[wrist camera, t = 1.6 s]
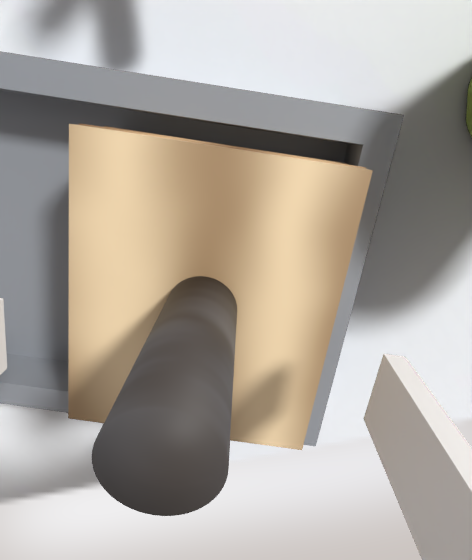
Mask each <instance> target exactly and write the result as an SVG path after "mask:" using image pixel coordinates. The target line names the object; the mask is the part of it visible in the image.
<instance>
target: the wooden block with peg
mask: <svg viewBox="0 0 472 560" xmlns="http://www.w3.org/2000/svg"><path fill="white" fill-rule="evenodd" d="M372 172H373V170H368V169H366V167H361V166H354V165H349V164H347V163H342V162H335V161H329V160H322V159H316V158H309V157H303V156H296V155H290V154H283V153H277V152H270V151H264V150H257V149H251V148H244V147H238V146H231V145H225V144H218V143H212V142H205V141H199V140H192V139H186V138H179V137H173V136H166V135H160V134H153V133H147V132H140V131H134V130H127V129H121V128H114V127H107V126H104V127H101V126H94V125H88V124H79V125H76V124H69V370H68V418H70V419H78V420H85V421H92V422H100V423H104V424H103V426H102V428H101V430H100V432H99V434H98V436H97V438H96V440H95V443H94V446H93V450H92V464H93V468H94V472H95V474H96V477H97V479H98V480H99V482H100V484H101V485H102V486H103V488H104V489H105V490H106V491H107V492H108V493H109V494H110V495H111V496H112V497H113V498H115V499H116V500H117V501H119V502H120V503H122V504H123V505H125V506H127V507H129V508H131V509H134V510H137V511H139V512H143V513H147V514H152V515H160V516H173V515H181V514H185V513H189V512H192V511H195V510H197V509H199V508H202V507H203V506H205V505H207V504H208V503H209V502H211V501H212V500H213V499H214V498H215V497H216V496H217V495H218V494H219V493H220V491H221V490H222V488H223V486H224V484H225V482H226V479H227V475H228V466H229V448H230V440H232V441H239V442H247V443H254V444H261V445H269V446H276V447H284V448H291V449H298V450H302V448H303V444H304V440H305V436H306V432H307V428H308V424H309V420H310V416H311V413H312V409H313V405H314V401H315V397H316V393H317V389H318V385H319V381H320V377H321V373H322V369H323V365H324V361H325V357H326V353H327V349H328V345H329V342H330V338H331V334H332V330H333V326H334V322H335V318H336V314H337V310H338V306H339V302H340V298H341V294H342V290H343V286H344V282H345V278H346V274H347V271H348V267H349V263H350V259H351V255H352V251H353V247H354V243H355V239H356V235H357V231H358V227H359V223H360V219H361V215H362V211H363V207H364V203H365V200H366V196H367V192H368V188H369V184H370V180H371V176H372Z"/></svg>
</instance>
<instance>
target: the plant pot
mask: <svg viewBox="0 0 472 560" xmlns="http://www.w3.org/2000/svg"><path fill="white" fill-rule="evenodd" d="M466 123H467V127H468V130H469V133H470V135H471V137H472V78H471V81H470V84H469V87H468V97H467V114H466Z"/></svg>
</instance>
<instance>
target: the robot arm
mask: <svg viewBox="0 0 472 560" xmlns="http://www.w3.org/2000/svg"><path fill="white" fill-rule="evenodd" d="M6 369H7V354H6V337H5V319H4V302H3V298H0V375H1V374H2V373H3V372H4V371H5V370H6ZM364 421H365V423H366V426H367V428H368V431H369V433H370V435H371V438H372V440H373V443H374V445H375V447H376V450H377V452H378V455H379V457H380V460H381V462H382V464H383V467H384V469H385V471H386V474H387V476H388V479H389V481H390V484H391V486H392V488H393V491H394V493H395V496H396V498H397V500H398V503H399V505H400V508H401V510H402V512H403V515H404V517H405V520H406V522H407V525H408V527H409V529H410V532H411V534H412V537H413V539H414V541H415V544H416V546H417V549H418V551H419V553H420V556H421V558H422V560H472V447H471V446H470V444H469V443H468V442H467V440H466V439H465V438H464V436H463V435H462V434H461V432H460V431H459V429H458V428H457V427H456V425H455V424H454V423H453V421H452V420H451V418H450V417H449V416H448V414H447V413H446V412H445V410H444V409H443V408H442V406H441V405H440V403H439V402H438V401H437V399H436V398H435V397H434V395H433V394H432V392H431V391H430V390H429V388H428V387H427V386H426V384H425V383H424V381H423V380H422V379H421V377H420V376H419V375H418V373H417V372H416V371H415V369H414V368H413V366H412V365H411V364H410V362H409V361H408V360H407V358H406V357H403V356H396V355H389V354H384V355H383V358H382V361H381V364H380V367H379V371H378V374H377V377H376V380H375V384H374V387H373V390H372V393H371V397H370V400H369V403H368V406H367V410H366V413H365V416H364Z"/></svg>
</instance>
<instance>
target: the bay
mask: <svg viewBox="0 0 472 560" xmlns="http://www.w3.org/2000/svg"><path fill="white" fill-rule="evenodd" d="M403 117H404V115H401V114H394V113H388V112H382V111H375V110H369V109H363V108H356V107H350V106H344V105H337V104H331V103H325V102H318V101H312V100H306V99H299V98H293V97H286V96H280V95H274V94H267V93H261V92H255V91H248V90H242V89H236V88H229V87H223V86H217V85H210V84H204V83H198V82H191V81H185V80H178V79H172V78H166V77H159V76H153V75H147V74H140V73H134V72H128V71H121V70H115V69H109V68H102V67H96V66H89V65H83V64H77V63H70V62H64V61H58V60H51V59H45V58H39V57H32V56H26V55H20V54H13V53H7V52H1V51H0V298H3V302H4V319H5V337H6V354H7V369H6V370H5V371H4V372H3V373H2V374H1V375H0V403H3V404H10V405H17V406H25V407H32V408H39V409H47V410H54V411H61V412H68V370H69V124H76V125H79V124H88V125H94V126H101V127H104V126H107V127H114V128H121V129H127V130H134V131H140V132H147V133H153V134H160V135H166V136H173V137H179V138H186V139H192V140H199V141H205V142H212V143H218V144H225V145H231V146H238V147H244V148H251V149H257V150H264V151H270V152H277V153H283V154H290V155H296V156H303V157H309V158H316V159H322V160H329V161H335V162H342V163H347V164H349V165H354V166H361V167H366V169H368V170H373V172H372V176H371V180H370V184H369V188H368V192H367V196H366V200H365V203H364V207H363V211H362V215H361V219H360V223H359V227H358V231H357V235H356V239H355V243H354V247H353V251H352V255H351V259H350V263H349V267H348V271H347V274H346V278H345V282H344V286H343V290H342V294H341V298H340V302H339V306H338V310H337V314H336V318H335V322H334V326H333V330H332V334H331V338H330V342H329V345H328V349H327V353H326V357H325V361H324V365H323V369H322V373H321V377H320V381H319V385H318V389H317V393H316V397H315V401H314V405H313V409H312V413H311V416H310V420H309V424H308V428H307V432H306V436H305V440H304V444H303V445H310V446H316V443H317V439H318V435H319V432H320V428H321V424H322V420H323V417H324V413H325V409H326V405H327V402H328V398H329V394H330V390H331V387H332V383H333V379H334V375H335V372H336V368H337V364H338V360H339V357H340V353H341V349H342V345H343V342H344V338H345V334H346V330H347V327H348V323H349V319H350V316H351V312H352V308H353V304H354V301H355V297H356V293H357V289H358V286H359V282H360V278H361V274H362V271H363V267H364V263H365V259H366V256H367V252H368V248H369V244H370V241H371V237H372V233H373V229H374V226H375V222H376V218H377V214H378V211H379V207H380V203H381V199H382V196H383V192H384V188H385V184H386V181H387V177H388V173H389V169H390V166H391V162H392V158H393V155H394V151H395V147H396V143H397V140H398V136H399V132H400V128H401V125H402V121H403Z"/></svg>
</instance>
